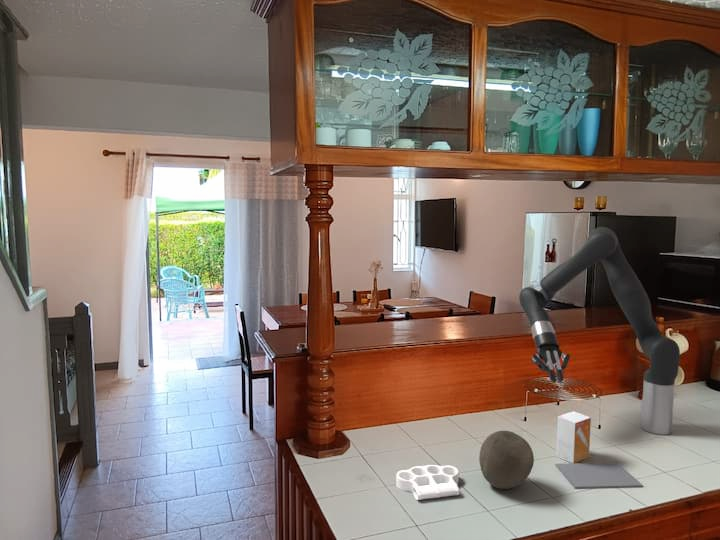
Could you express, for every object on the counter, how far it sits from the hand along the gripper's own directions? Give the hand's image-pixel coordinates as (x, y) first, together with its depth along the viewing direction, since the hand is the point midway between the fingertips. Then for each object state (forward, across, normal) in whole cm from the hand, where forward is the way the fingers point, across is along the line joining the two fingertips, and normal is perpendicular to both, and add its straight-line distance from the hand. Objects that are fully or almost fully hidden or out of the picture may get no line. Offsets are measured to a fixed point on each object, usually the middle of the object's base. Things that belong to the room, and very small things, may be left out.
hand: (557, 381), depth 167 cm
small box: (+23, 0, +6) cm, 24 cm away
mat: (+31, +2, -3) cm, 31 cm away
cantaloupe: (+34, -26, -6) cm, 43 cm away
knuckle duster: (+34, -47, -4) cm, 58 cm away
